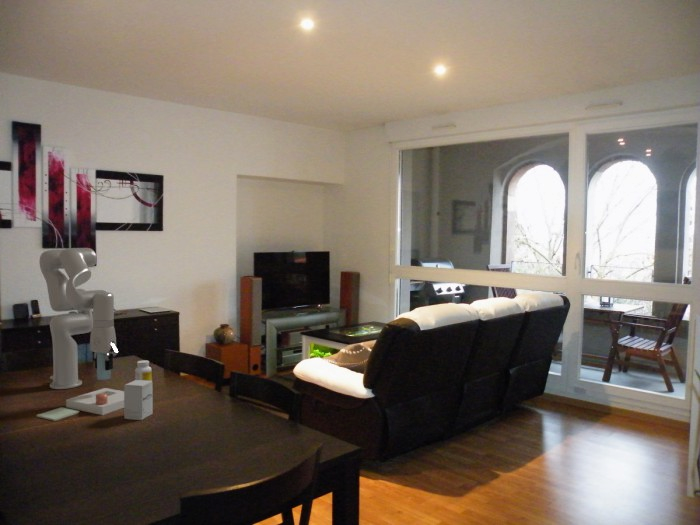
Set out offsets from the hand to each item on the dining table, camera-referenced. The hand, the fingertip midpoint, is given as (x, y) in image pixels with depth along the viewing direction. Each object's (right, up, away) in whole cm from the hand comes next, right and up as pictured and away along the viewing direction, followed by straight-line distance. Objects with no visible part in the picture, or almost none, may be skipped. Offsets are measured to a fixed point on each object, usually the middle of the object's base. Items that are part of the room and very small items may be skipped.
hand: (104, 368), depth 217 cm
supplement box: (+21, -15, -17) cm, 31 cm away
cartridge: (0, -4, 0) cm, 4 cm away
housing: (+2, -14, -4) cm, 14 cm away
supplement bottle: (+10, -13, +14) cm, 22 cm away
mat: (-10, -14, -16) cm, 23 cm away
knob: (+4, -12, -12) cm, 17 cm away
